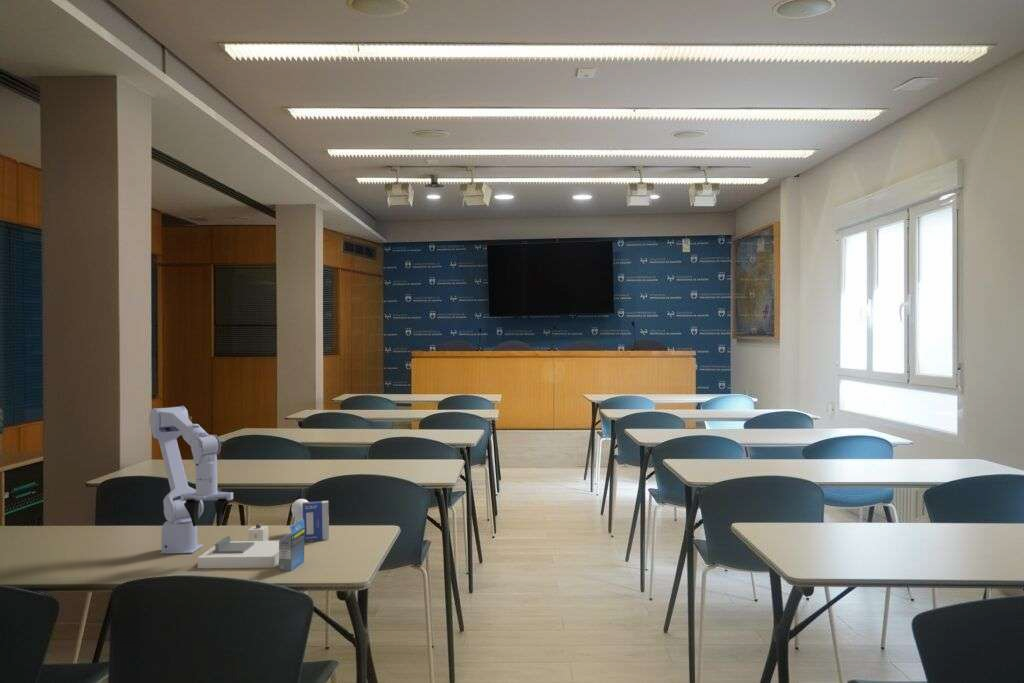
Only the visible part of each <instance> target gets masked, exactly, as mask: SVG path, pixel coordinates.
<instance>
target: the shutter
mask: <svg viewBox="0 0 1024 683" xmlns="http://www.w3.org/2000/svg"><path fill="white" fill-rule="evenodd" d="M230 541H231V536H230V535H226V536H224V537H222V539H220V540H219V541H217V542H215V544H214V546H215V550H214V551H213V553H244V552H245V551H246V550H247V549H249V548H250V547H251V546H253V545H254V542H240V543H230Z"/></svg>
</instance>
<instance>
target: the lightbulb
mask: <svg viewBox="0 0 1024 683" xmlns="http://www.w3.org/2000/svg"><path fill="white" fill-rule="evenodd" d="M303 502H309V501H308V500H307V499H306V498H305V499H304V498H299V499H296V500H295V501H294V502H293V503H292V505H291V508H290V509H291V510H290V511H291V513H292V516H294V519H295V522H296V523H297V522H299V521H301V520H302V519H303ZM298 528H300V526H297V527H296V529H298Z"/></svg>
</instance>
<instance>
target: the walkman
mask: <svg viewBox="0 0 1024 683" xmlns="http://www.w3.org/2000/svg"><path fill="white" fill-rule="evenodd" d="M329 503H330V502H329V500H321V501H320V500H319V501H308V502H303V519H304V526H305V529H304V534H305V536H304V542H314V541H326V540H327V541H328V540H329V539H330V524H329V523H330V516H329V514H330V509H329V508H330V506H329V505H330V504H329Z"/></svg>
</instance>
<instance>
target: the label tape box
mask: <svg viewBox="0 0 1024 683" xmlns="http://www.w3.org/2000/svg"><path fill="white" fill-rule="evenodd" d="M297 526H300V528H297ZM289 528H290V533H289V534H287V535H286V536H284V537H283V538H281V539H279V540H278V541H279V562H278V571H283V572H291V571H293V570H295V569H296V568H298V566H300V565H301V564H302V563H304V562H305V541H304V536H305V534H304V529H305V526H304V519H302V520H301V521H299V522H297V523H294V524H291V525H290V526H289Z"/></svg>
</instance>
